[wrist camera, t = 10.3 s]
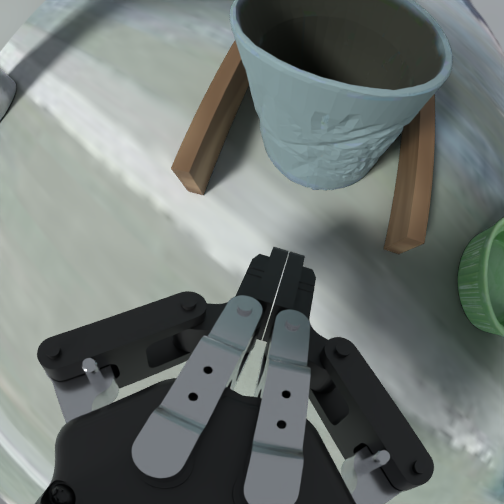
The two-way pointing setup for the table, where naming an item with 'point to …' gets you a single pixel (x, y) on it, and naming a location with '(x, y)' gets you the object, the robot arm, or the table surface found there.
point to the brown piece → (223, 113)
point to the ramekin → (484, 280)
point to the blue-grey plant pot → (337, 80)
